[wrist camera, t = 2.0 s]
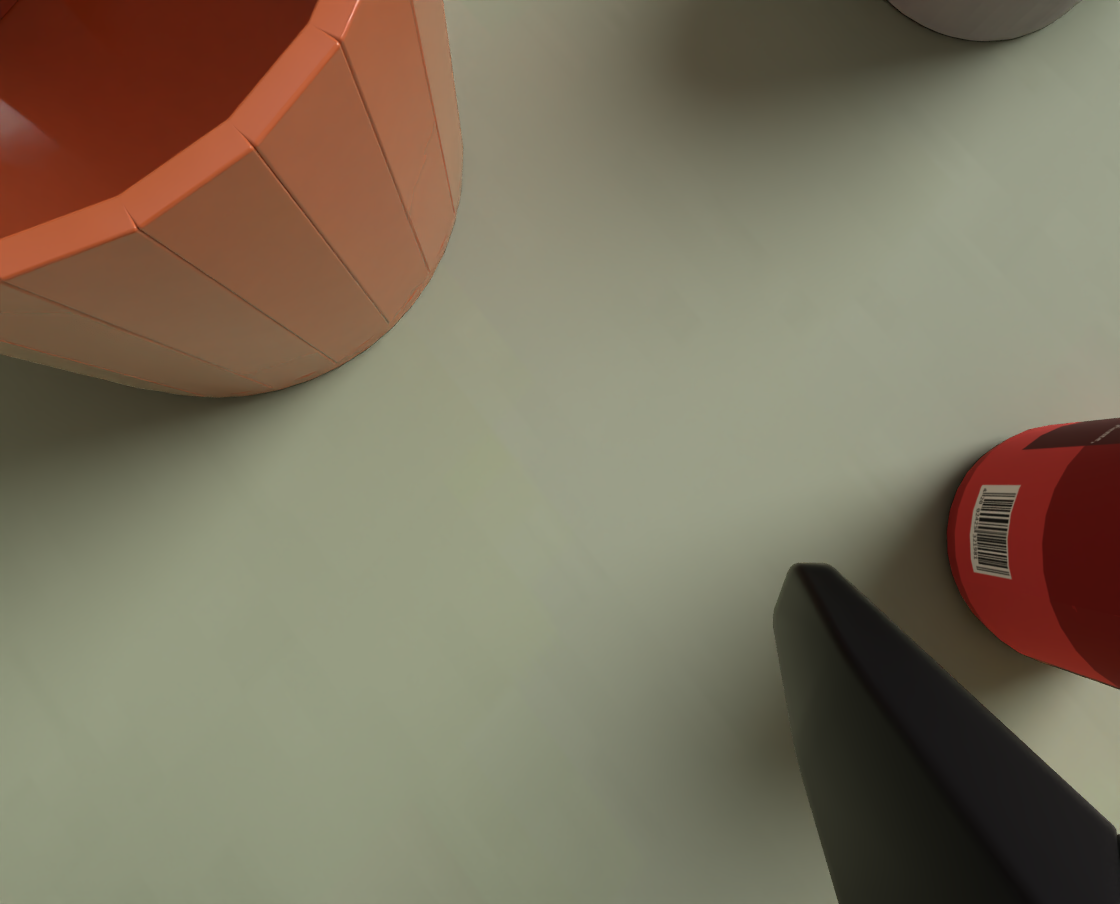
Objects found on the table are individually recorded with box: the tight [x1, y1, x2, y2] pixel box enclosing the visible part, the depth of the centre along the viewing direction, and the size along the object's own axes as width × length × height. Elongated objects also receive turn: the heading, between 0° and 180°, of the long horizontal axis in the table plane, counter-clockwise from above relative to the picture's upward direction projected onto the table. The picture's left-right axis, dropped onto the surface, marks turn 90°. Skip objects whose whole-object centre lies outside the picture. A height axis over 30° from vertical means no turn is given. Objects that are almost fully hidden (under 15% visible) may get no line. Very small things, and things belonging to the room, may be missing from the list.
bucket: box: [0, 0, 463, 398], centre depth 17 cm, size 16×16×13 cm
